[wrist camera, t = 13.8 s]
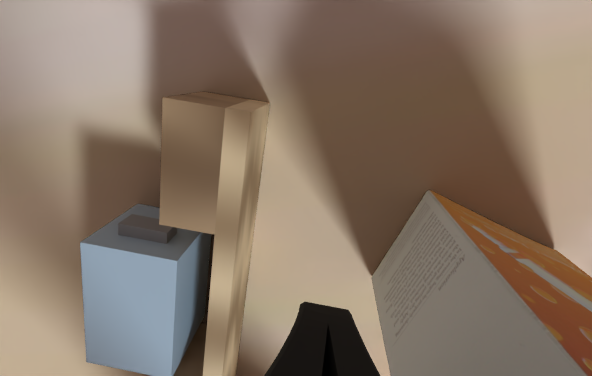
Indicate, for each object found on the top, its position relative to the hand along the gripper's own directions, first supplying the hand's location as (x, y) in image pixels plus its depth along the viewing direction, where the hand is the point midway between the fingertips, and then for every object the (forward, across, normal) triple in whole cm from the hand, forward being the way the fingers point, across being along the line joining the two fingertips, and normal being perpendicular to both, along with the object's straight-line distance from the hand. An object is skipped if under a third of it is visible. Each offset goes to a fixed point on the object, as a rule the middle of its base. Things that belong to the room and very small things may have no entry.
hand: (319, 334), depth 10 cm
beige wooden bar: (+10, +6, +6) cm, 13 cm away
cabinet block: (+10, +8, +5) cm, 14 cm away
